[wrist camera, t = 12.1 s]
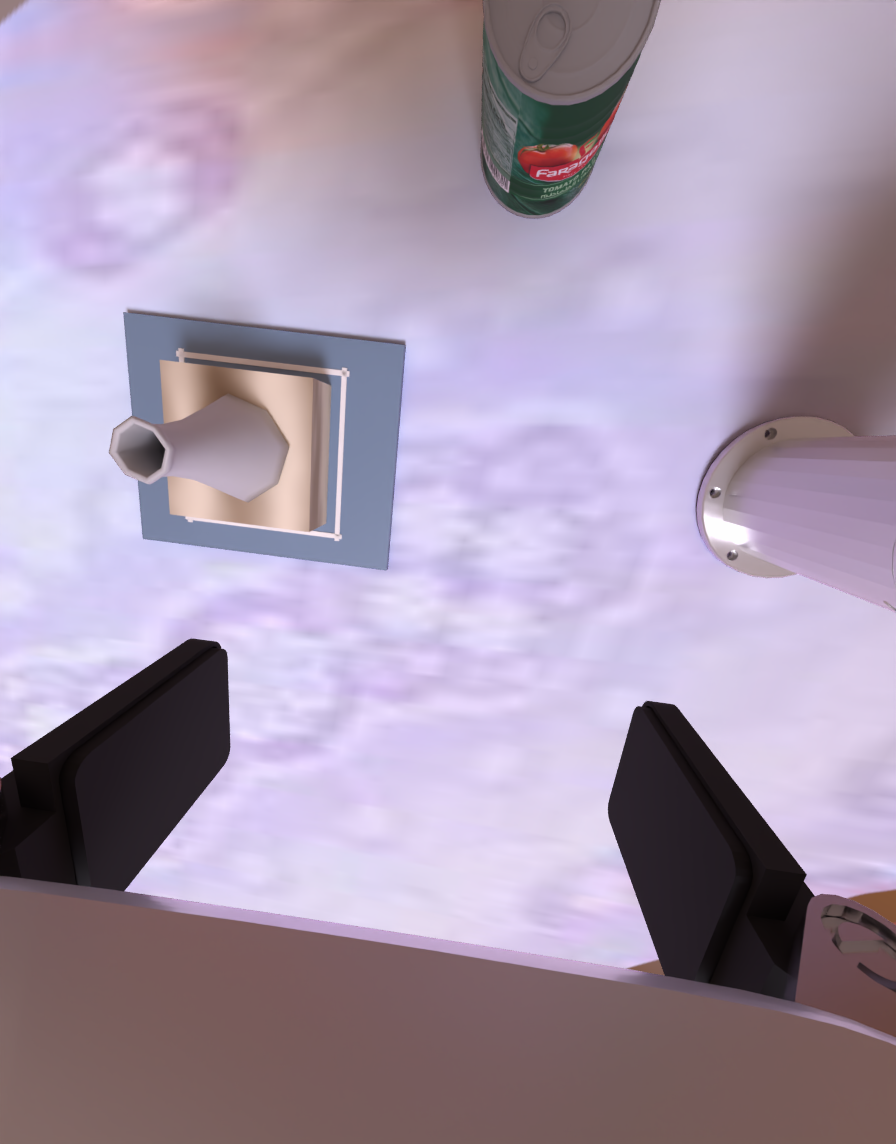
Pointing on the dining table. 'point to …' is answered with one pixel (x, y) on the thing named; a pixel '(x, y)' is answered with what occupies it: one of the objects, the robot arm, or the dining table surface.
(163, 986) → the robot arm
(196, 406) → the birch plinth
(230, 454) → the flask
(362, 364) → the board
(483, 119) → the canned tomato
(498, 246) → the dining table surface
